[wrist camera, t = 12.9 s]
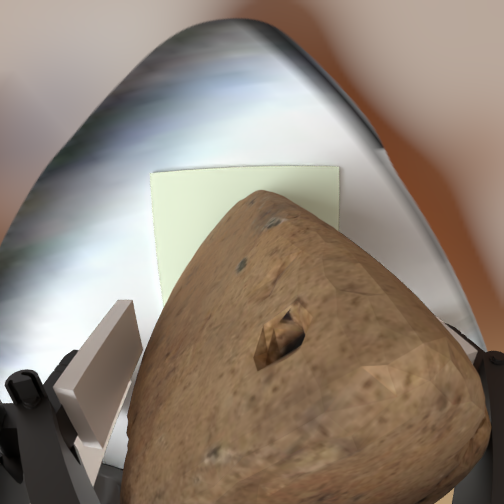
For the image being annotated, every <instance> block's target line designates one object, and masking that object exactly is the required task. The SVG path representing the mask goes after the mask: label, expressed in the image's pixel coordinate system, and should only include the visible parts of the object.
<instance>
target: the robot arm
mask: <svg viewBox="0 0 504 504" xmlns="http://www.w3.org/2000/svg"><path fill="white" fill-rule="evenodd" d="M435 317H436V316H435ZM436 318H437V317H436ZM437 319H438V318H437ZM438 320H439V321H440V322H441V323H442V324H443V325H444V327H445V328H446V329H447V330H448V331H449V332H450V333H451V334H452V336H453V337H454V338H455V339H456V340H457V341H458V343H459V344H460V345H461V347H462V348H463V350H464V351H465V353H466V354H467V356H468V357H469V359H470V361H471V362H472V364H473V366H474V367H475V369H476V371H477V372H478V374H479V376H480V379H481V383H482V387H483V391H484V395H485V404H486V408H487V412H488V415H489V419H490V423H491V427H492V428H491V433H490V438H489V443H488V447H487V449H486V451H485V453H484V455H483V457H482V458H481V459H480V460H479V462H478V463H477V464H476V465H475V467H474V468H473V469H472V470H471V471H470V473H469V474H468V475H467V476H466V477H465V478H464V479H463V480H462V481H461V482H460V483H459V484H458V485H456V486H455V488H454V495H453V500H452V504H504V353H502V352H498V351H489V352H486V353H485V352H484V351H483V350H482V349H481V348H479V347H478V346H477V345H476V344H475V343H473V342H472V341H471V340H470V339H467V337H466V336H465V335H464V334H461V332H460V331H459V330H457V329H456V328H455V327H453V326H451V325H449V324H446V323H443V322H442V321H441V320H440V319H438ZM142 351H143V347H142V343H141V339H140V334H139V330H138V325H137V320H136V315H135V310H134V305H133V300H117V302H116V303H115V304H114V305H113V307H112V308H111V309H110V311H109V312H108V313H107V314H106V316H105V317H104V318H103V319H102V321H101V322H100V323H99V325H98V326H97V327H96V328H95V330H94V331H93V332H92V334H91V335H90V336H89V338H88V339H87V340H86V342H85V343H84V344H83V346H82V347H81V348H80V350H73V351H71V352H70V353H68V354H67V355H66V356H64V358H63V359H62V360H61V362H60V363H59V365H57V367H56V368H55V369H54V371H53V372H52V373H51V375H50V376H49V378H48V379H47V380H46V382H45V383H44V384H43V385H42V382H41V380H40V378H39V376H38V374H37V372H35V371H33V370H28V369H27V370H20V371H18V372H15V373H13V374H12V375H11V376H9V377H8V379H7V380H6V382H5V387H6V389H7V391H8V393H9V395H10V397H11V399H12V401H13V403H2V402H1V400H0V504H120V490H121V482H122V475H123V470H120V469H117V468H114V467H111V466H108V465H104V464H101V465H100V468H99V471H98V474H97V477H96V480H95V483H94V486H92V484H91V482H90V479H89V477H88V475H87V472H86V470H85V467H84V465H83V462H82V459H81V457H80V454H79V451H78V449H77V447H76V446H75V444H74V442H75V440H76V438H77V436H78V437H79V439H80V440H81V442H82V444H83V445H84V446H87V447H92V448H97V449H103V447H104V445H105V442H106V439H107V436H108V434H109V431H110V429H111V426H112V423H113V421H114V418H115V416H116V413H117V411H118V408H119V406H120V403H121V401H122V398H123V396H124V393H125V391H126V388H127V386H128V384H129V381H130V379H131V377H132V374H133V372H134V369H135V367H136V365H137V362H138V360H139V358H140V356H141V353H142Z"/></svg>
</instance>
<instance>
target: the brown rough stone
mask: <svg viewBox="0 0 504 504" xmlns="http://www.w3.org/2000/svg"><path fill="white" fill-rule="evenodd" d="M127 418H128V426H127V432H126V433H127V436H128V438H129V441H128V445H127V447H128V451H127V455H126V459H125V463H124V468H123V475H122V482H121V490H120V504H434V503H436V502H437V501H438V500H440V499H441V498H442V497H444V496H445V495H446V494H447V493H449V492H450V491H451V490H452V489H453V488H454V487H455V486H456V485H458V484H459V483H460V482H461V481H462V480H463V479H464V478H465V477H466V476H467V475H468V474H469V473H470V471H471V470H472V469H473V468H474V467H475V465H476V464H477V463H478V462H479V460H480V459H481V458H482V457H483V455H484V453H485V451H486V449H487V447H488V443H489V438H490V433H491V428H492V427H491V423H490V419H489V415H488V412H487V408H486V404H485V395H484V391H483V387H482V383H481V379H480V376H479V374H478V372H477V371H476V369H475V367H474V366H473V364H472V362H471V361H470V359H469V357H468V356H467V354H466V353H465V351H464V350H463V348H462V347H461V345H460V344H459V343H458V341H457V340H456V339H455V338H454V337H453V336H452V334H451V333H450V332H449V331H448V330H447V329H446V328H445V327H444V325H443V324H442V323H441V322H440V321H439V320H438V319H437V318H436V317H435V315H434V314H433V313H432V312H431V311H430V310H429V309H428V308H427V307H426V306H425V305H424V304H423V303H422V301H421V300H420V299H419V298H418V297H417V296H416V295H415V294H414V293H413V292H412V291H411V290H410V289H409V288H408V287H406V286H405V285H404V284H403V283H402V282H401V281H400V280H399V279H398V278H397V277H396V276H395V275H393V274H392V273H391V272H390V271H389V270H388V269H386V268H385V267H384V266H383V265H382V264H380V263H379V262H378V261H377V260H376V259H374V258H373V257H372V256H370V255H369V254H368V253H367V252H365V251H364V250H363V249H362V248H360V247H359V246H358V245H356V244H355V243H354V242H352V241H351V240H350V239H348V238H347V237H346V236H344V235H343V234H342V233H340V232H339V231H337V230H336V229H335V228H334V227H332V226H331V225H329V224H327V223H326V222H324V221H322V220H321V219H319V218H318V217H317V216H315V215H314V214H312V213H311V212H309V211H307V210H306V209H304V208H302V207H301V206H299V205H297V204H295V203H294V202H292V201H291V200H289V199H288V198H286V197H284V196H282V195H279V194H277V193H274V192H269V191H266V190H257V191H255V192H253V193H251V194H250V195H248V196H247V197H246V198H244V199H242V200H240V201H238V202H237V203H236V204H235V205H234V206H233V207H232V208H231V209H230V210H229V211H228V212H227V213H226V214H225V216H224V217H223V218H222V219H221V220H220V221H219V223H218V224H217V225H216V226H215V228H214V229H213V230H212V231H211V232H210V233H209V235H208V236H207V237H206V239H205V240H204V241H203V242H202V244H201V245H200V247H199V248H198V250H197V251H196V253H195V254H194V256H193V258H192V259H191V261H190V262H189V263H188V265H187V266H186V268H185V269H184V271H183V273H182V274H181V276H180V278H179V279H178V281H177V283H176V284H175V286H174V288H173V290H172V292H171V294H170V296H169V298H168V300H167V302H166V304H165V306H164V308H163V310H162V312H161V315H160V317H159V319H158V321H157V323H156V325H155V328H154V330H153V332H152V335H151V337H150V340H149V342H148V345H147V347H146V350H145V352H144V355H143V358H142V362H141V365H140V368H139V372H138V375H137V379H136V382H135V385H134V389H133V393H132V397H131V402H130V406H129V410H128V414H127Z"/></svg>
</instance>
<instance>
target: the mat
mask: <svg viewBox="0 0 504 504" xmlns="http://www.w3.org/2000/svg"><path fill="white" fill-rule="evenodd" d="M150 185H151V200H152V213H153V225H154V235H155V245H156V254H157V262H158V271H159V278H160V286H161V293H162V299H163V306H165V304H166V302H167V300H168V298H169V296H170V294H171V292H172V290H173V288H174V286H175V284H176V283H177V281H178V279H179V278H180V276H181V274H182V273H183V271H184V269H185V268H186V266H187V265H188V263H189V262H190V261H191V259H192V258H193V256H194V254H195V253H196V251H197V250H198V248H199V247H200V245H201V244H202V242H203V241H204V240H205V239H206V237H207V236H208V235H209V233H210V232H211V231H212V230H213V229H214V228H215V226H216V225H217V224H218V223H219V221H220V220H221V219H222V218H223V217H224V216H225V214H226V213H227V212H228V211H229V210H230V209H231V208H232V207H233V206H234V205H235V204H236V203H237V202H238V201H240V200H242V199H244V198H246V197H247V196H248V195H250V194H251V193H253V192H255V191H257V190H266V191H269V192H274V193H277V194H279V195H282V196H284V197H286V198H288V199H289V200H291V201H292V202H294V203H295V204H297V205H299V206H301V207H302V208H304V209H306V210H307V211H309V212H311V213H312V214H314V215H315V216H317V217H318V218H319V219H321V220H322V221H324V222H326V223H327V224H329V225H331V226H332V227H334V228H335V229H336V230H337V231H339V167H335V166H257V167H229V168H210V169H195V170H181V171H169V172H159V173H150Z"/></svg>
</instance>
